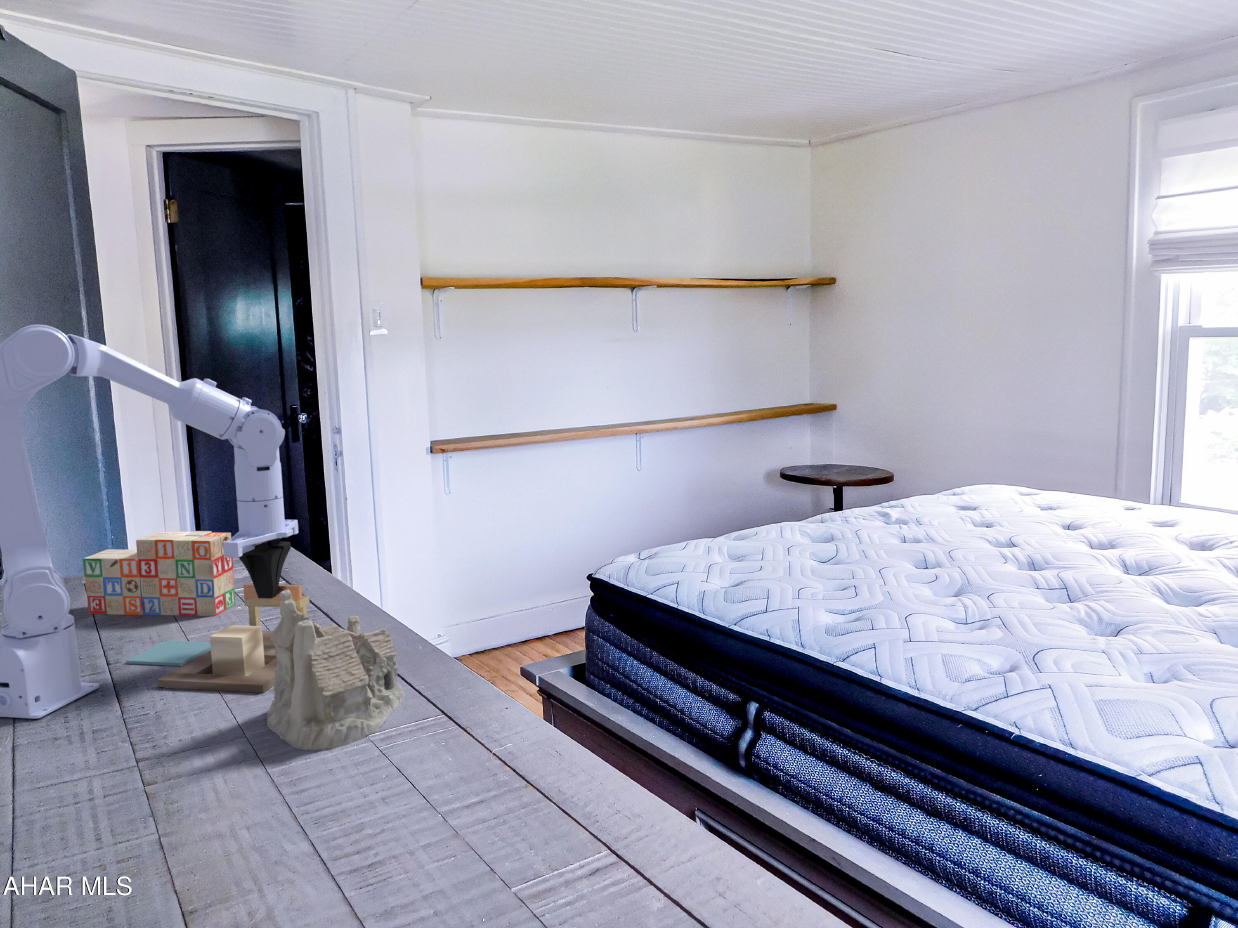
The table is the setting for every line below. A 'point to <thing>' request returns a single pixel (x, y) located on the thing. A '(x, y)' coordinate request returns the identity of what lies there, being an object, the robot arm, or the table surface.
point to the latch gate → (272, 601)
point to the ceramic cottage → (330, 681)
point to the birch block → (237, 650)
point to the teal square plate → (171, 653)
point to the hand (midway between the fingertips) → (267, 597)
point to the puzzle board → (199, 677)
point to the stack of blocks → (163, 576)
